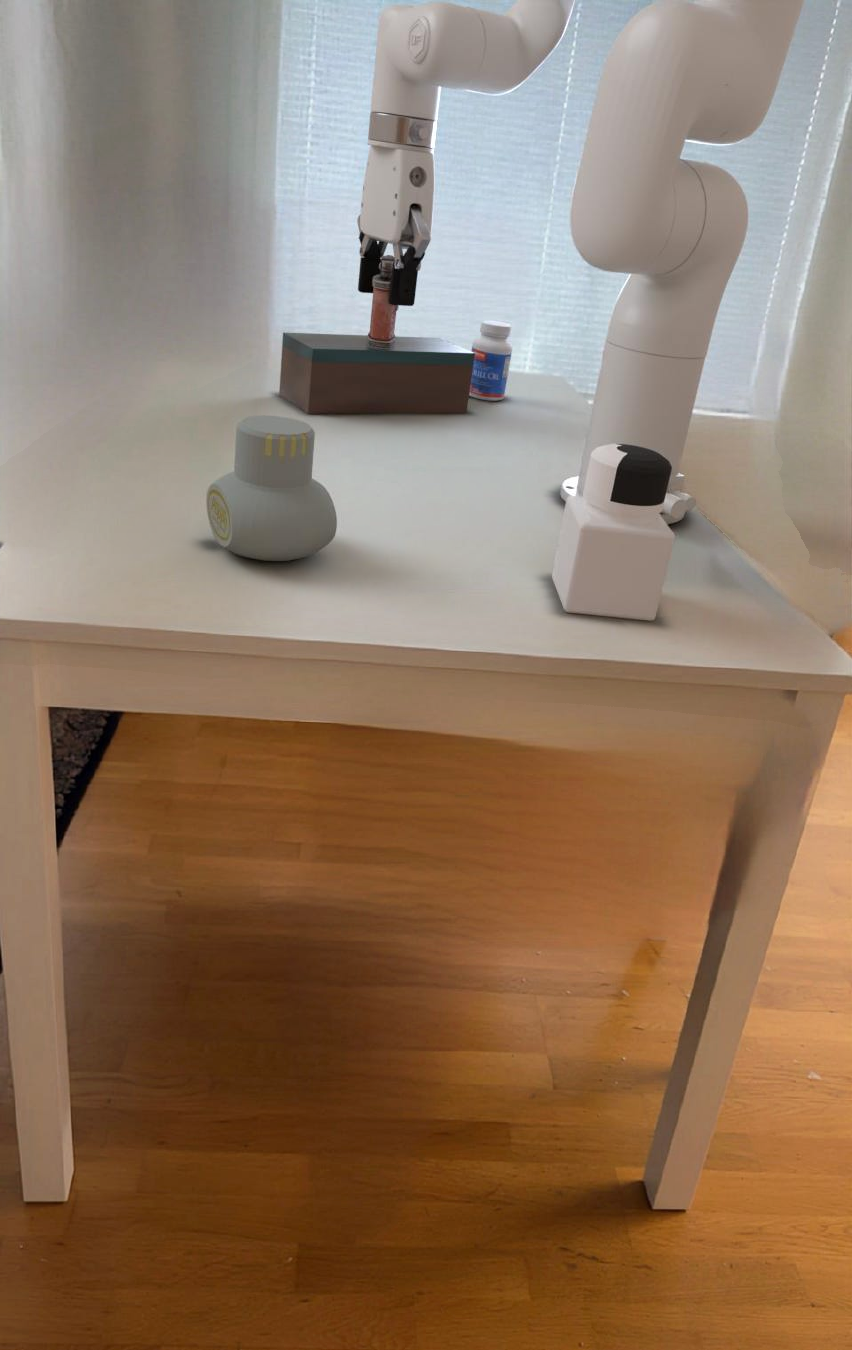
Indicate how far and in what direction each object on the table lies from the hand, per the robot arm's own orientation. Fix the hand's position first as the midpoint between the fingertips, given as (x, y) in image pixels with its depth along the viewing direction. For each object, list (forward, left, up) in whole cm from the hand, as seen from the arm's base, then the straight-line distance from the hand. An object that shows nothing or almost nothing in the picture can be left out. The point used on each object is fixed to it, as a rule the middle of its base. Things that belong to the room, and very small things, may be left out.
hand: (385, 297), depth 128 cm
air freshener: (-45, +32, -13) cm, 57 cm away
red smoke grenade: (0, 0, -6) cm, 6 cm away
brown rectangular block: (0, 0, -13) cm, 13 cm away
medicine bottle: (-60, +10, -13) cm, 62 cm away
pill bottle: (+4, -19, -13) cm, 23 cm away
